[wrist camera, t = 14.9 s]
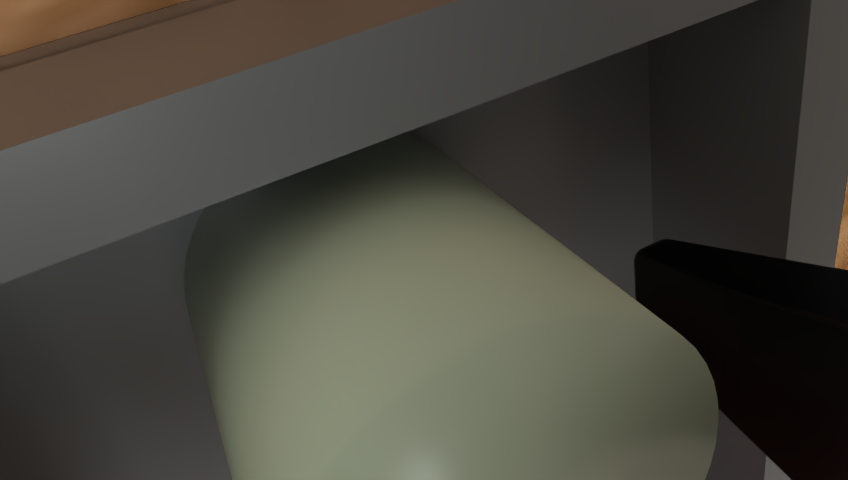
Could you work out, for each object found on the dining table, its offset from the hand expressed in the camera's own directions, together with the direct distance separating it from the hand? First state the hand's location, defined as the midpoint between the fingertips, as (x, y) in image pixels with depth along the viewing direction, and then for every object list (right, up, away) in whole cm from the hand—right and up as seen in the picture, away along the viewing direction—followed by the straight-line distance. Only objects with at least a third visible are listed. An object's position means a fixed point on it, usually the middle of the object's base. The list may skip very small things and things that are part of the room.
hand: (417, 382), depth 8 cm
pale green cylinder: (-1, +1, +2) cm, 3 cm away
